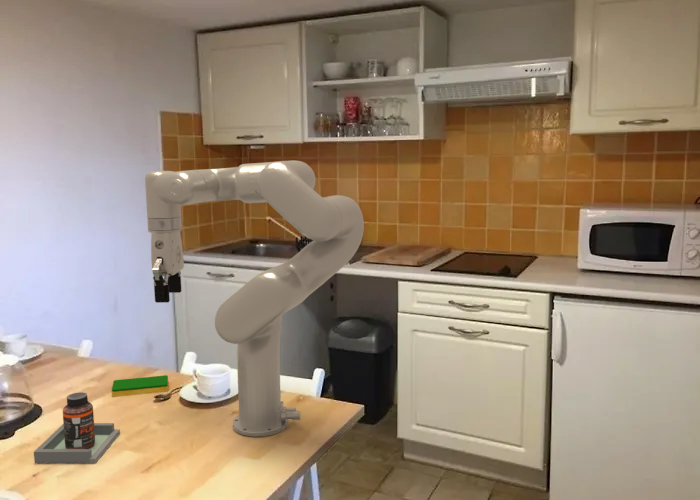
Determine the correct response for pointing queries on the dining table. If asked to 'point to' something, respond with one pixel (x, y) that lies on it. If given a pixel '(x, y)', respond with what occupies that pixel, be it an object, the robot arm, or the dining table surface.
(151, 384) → the dish sponge
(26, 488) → the dining table surface
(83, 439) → the supplement bottle
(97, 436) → the dock bay
